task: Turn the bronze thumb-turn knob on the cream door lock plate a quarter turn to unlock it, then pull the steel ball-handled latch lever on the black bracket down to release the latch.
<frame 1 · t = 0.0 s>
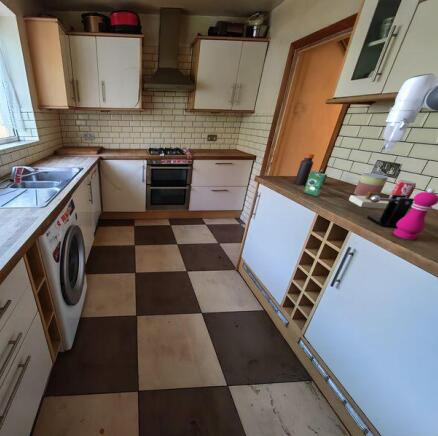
hand: (385, 150, 105), 29 cm above the table, tool pointing down, fingers open, 8 cm apart
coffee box: (310, 194, 136), on the table
latch lever: (387, 199, 97), point 11 cm above the table, hinge at 0.0°
lock plate: (368, 204, 123), on the table
bottle: (299, 184, 155), on the table
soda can: (395, 205, 124), on the table
pepper mill: (403, 236, 91), on the table
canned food: (365, 195, 138), on the table
latch bracket: (388, 223, 102), on the table
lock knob: (372, 195, 121), point 5 cm above the table, hinge at 0.0°
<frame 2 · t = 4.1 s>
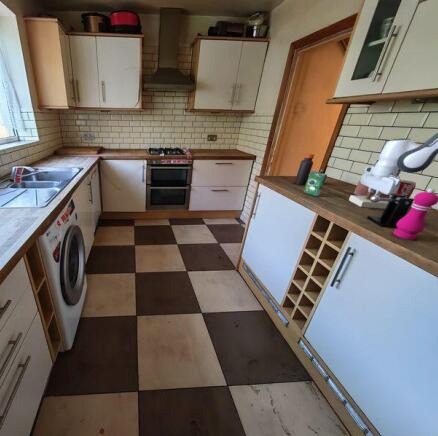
hand: (372, 197, 121), 4 cm above the table, tool pointing down, fingers closed on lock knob, 2 cm apart
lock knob: (372, 195, 121), point 5 cm above the table, hinge at 0.0°, touching gripper
everything else where it was.
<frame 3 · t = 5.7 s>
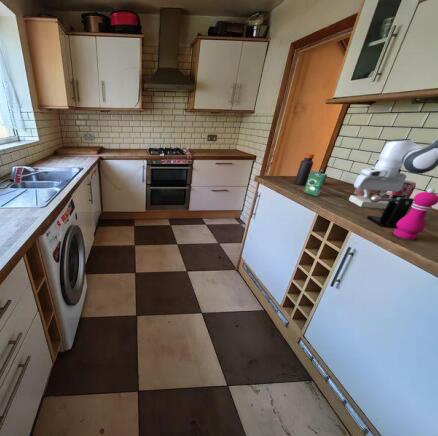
hand: (371, 197, 121), 4 cm above the table, tool pointing down, fingers open, 4 cm apart
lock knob: (372, 195, 121), point 5 cm above the table, hinge at 89.8°
everything else where it was.
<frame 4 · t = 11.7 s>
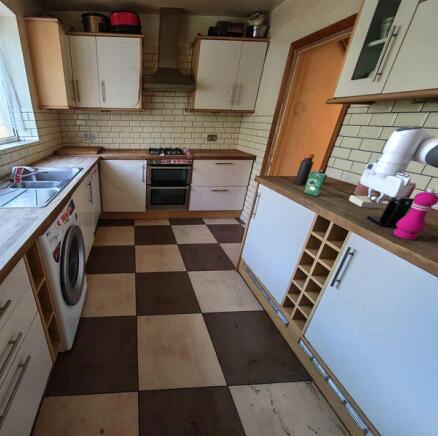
hand: (374, 200, 98), 10 cm above the table, tool pointing down, fingers closed on latch lever, 3 cm apart
latch lever: (387, 199, 97), point 11 cm above the table, hinge at 0.0°, touching gripper
everything else where it was.
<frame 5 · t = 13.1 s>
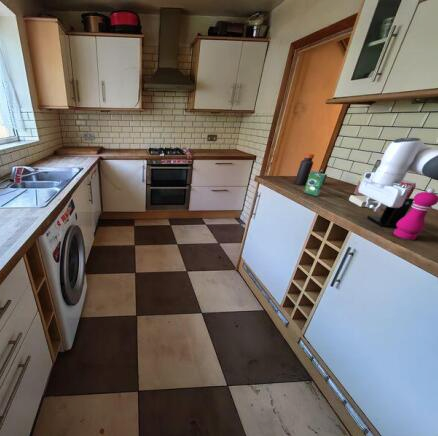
hand: (371, 209, 100), 6 cm above the table, tool pointing down, fingers closed on latch lever, 3 cm apart
latch lever: (386, 204, 98), point 9 cm above the table, hinge at -22.7°, touching gripper
everything else where it was.
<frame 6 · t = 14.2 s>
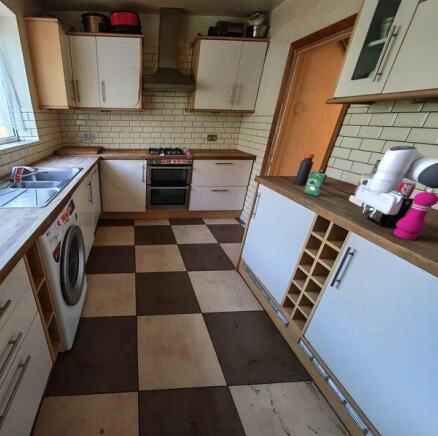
hand: (368, 215, 101), 3 cm above the table, tool pointing down, fingers closed on latch lever, 2 cm apart
latch lever: (386, 205, 98), point 8 cm above the table, hinge at -31.2°, touching gripper
everything else where it was.
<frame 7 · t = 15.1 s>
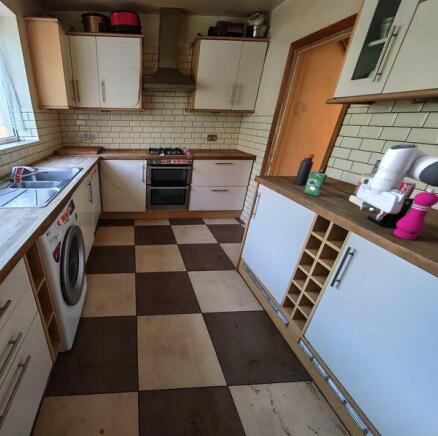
hand: (370, 214, 101), 4 cm above the table, tool pointing down, fingers open, 8 cm apart
latch lever: (386, 205, 98), point 8 cm above the table, hinge at -30.6°
everything else where it was.
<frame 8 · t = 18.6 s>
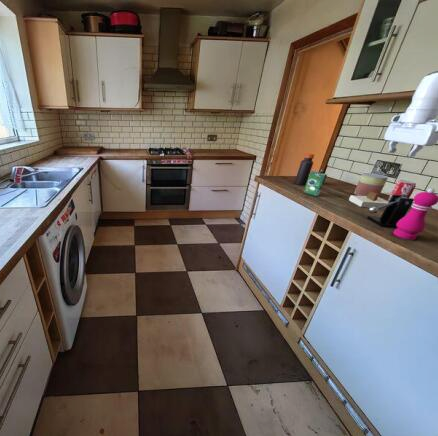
hand: (400, 154, 95), 29 cm above the table, tool pointing down, fingers open, 8 cm apart
nothing on the table moved.
at the end: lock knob at +90° (first picture: +0°); latch lever at -31° (first picture: +0°) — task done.
